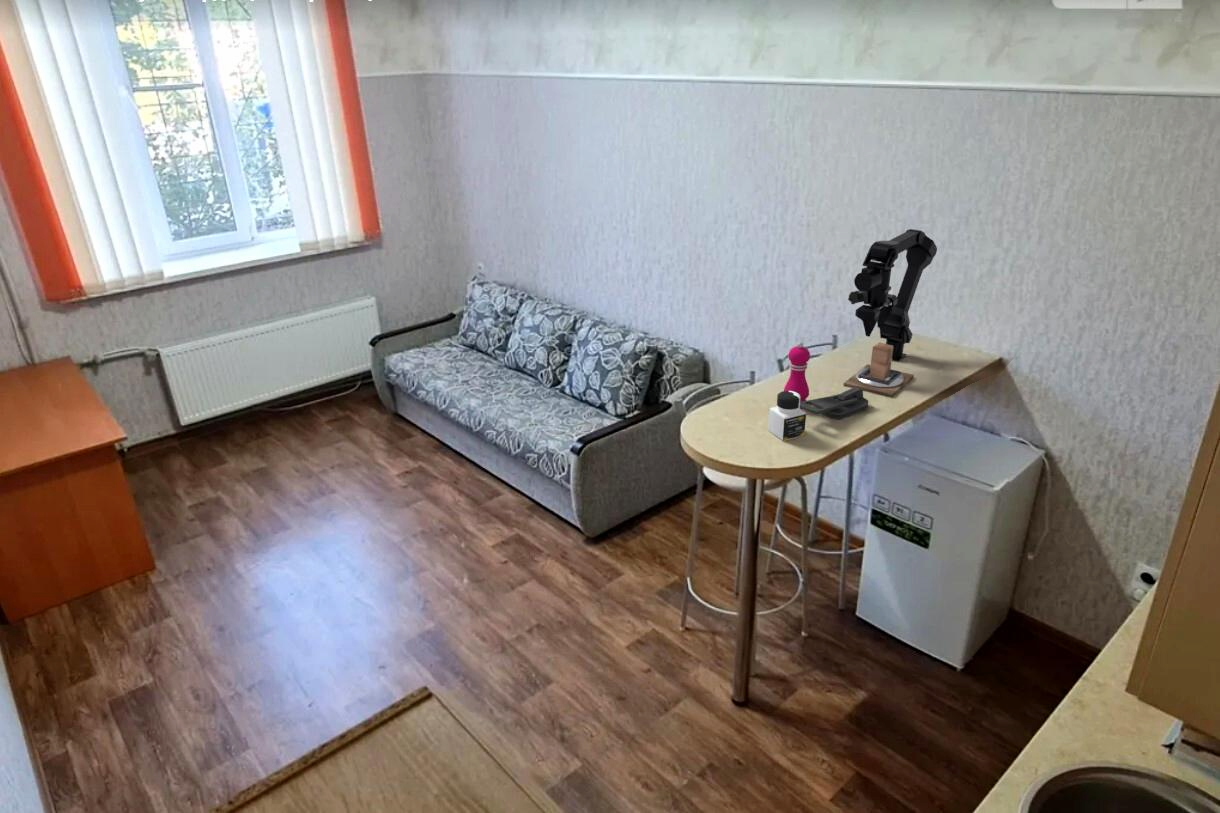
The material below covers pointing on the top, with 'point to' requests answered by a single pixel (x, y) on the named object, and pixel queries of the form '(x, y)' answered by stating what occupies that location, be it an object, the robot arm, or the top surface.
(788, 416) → the medicine bottle
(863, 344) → the top surface
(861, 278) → the robot arm
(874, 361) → the tan wooden block
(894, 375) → the rosette plate
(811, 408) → the zipper pull
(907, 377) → the walnut board
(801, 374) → the pepper mill
